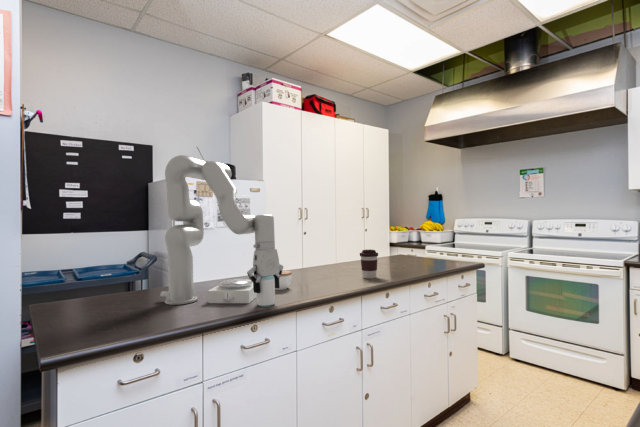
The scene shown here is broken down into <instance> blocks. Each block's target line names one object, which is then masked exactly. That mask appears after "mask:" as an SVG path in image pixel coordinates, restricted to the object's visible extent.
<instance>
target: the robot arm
mask: <svg viewBox="0 0 640 427" xmlns="http://www.w3.org/2000/svg"><path fill="white" fill-rule="evenodd" d="M164 170H165V171H164V178H165V183H166V185H165V186H166V201H167V202H166V204H167V214H168V218H169V219H170V220H172V221H174V222H182V224H176V225H173V226H170V227H169V228H168V229H167V230H166V233H165V236H164V239H165V240H164V242H165V244H166V245H165V246H166V250H167V266H168V267H167V269H168V290H167V291H161V292H160V296H159V297H160V298H164V297H165V300H164V304H165V305H170V306H171V305H172V306H175V305H176V306H177V305H178V306H179V305H187V304H191V303H195V302H196V301H198V296H197V295H195V294H194V290H195V288H194V256H193V253H192V250H191V247H194V246H195V247H196V246H199V244H201V243H202V241H203V239H204V234H205V233H204V212H203V208H202V205H201V204H200V203H199V202H198V201H197V200H194V199H190V192H189V191H190V190H189V188H190V187H189V185H188V183H187V180H186V178H192V179H196V180H202V181H205V182H206V184H207V186H208V187H209V189H210V190H211V192H212V194H214V197H215V198H216V200H217V203H218V204H217V205H218V209H219V214H220V216H221V218H222V220H223V221H224V223H225V224H226V226H227V227H228V229H229V230H230V231H231V232H232V233H234V234H236V235H248V234H250V235H251V234H254V244H253V249H255V250H254V252H253V257H252V258H253V260H252V267H250V269H249V270H248V271H247V272H246V274H247V276H248V278H249V280H251V281H252V283H253V290H254V293H260V282H259V280H260V278H261V277H266V276H270V275H273V276H274V278H275V288H277V289H278V288H279V278H280V275H281V274H282V271H284V265H282V264H280V258H279V254H278V253H279V252H278V250H277V248H276V241H275V240H276V238H275V237H276V236H275V218H274V215H272V214H270V213H269V214H265V213H264V214H256V215H255V214H243V213H242V211H241V210H240V209H239V207H238V205H237V203H236V200H235V197H236V195H237V193H238V189H237V188H236V186H235V184H234V183H233V182H232V181H231V178H232V177H233V176H232V174H233V173H232V169H231V168H230V166H228V165H227V164H225V163H222V162H219V161H214V160H210V161H209V160H205V159H201V158H196V157H193V156H189V155H184V154H182V155H181V154H180V155H176V156H174V157H172V158H171V159H170V160H169V161H168V162H167V165H166V166H165V169H164Z"/></svg>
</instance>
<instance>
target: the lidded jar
mask: <svg viewBox="0 0 640 427" xmlns="http://www.w3.org/2000/svg"><path fill="white" fill-rule="evenodd" d="M292 274H293V272H292V271H291V270H282V274H281V275H280V278H279V288H278V289H277V288H275V291H278V290H280V291H283V290H287V289H288V287H290V284H291V282H292Z"/></svg>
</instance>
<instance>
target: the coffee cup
mask: <svg viewBox="0 0 640 427" xmlns="http://www.w3.org/2000/svg"><path fill="white" fill-rule="evenodd" d="M359 256H360V266H361V273H362V278H364V279H373V280H374V279H376V278H377V270H378V257H379V253H378V252H376V250H375V249H362V251H361V252H359Z"/></svg>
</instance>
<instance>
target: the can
mask: <svg viewBox="0 0 640 427" xmlns="http://www.w3.org/2000/svg"><path fill="white" fill-rule="evenodd" d="M259 282H260V293H257V297H256V305H257V306H259V307H263V308H266V307H272V306H274V305H275V303H276V289H275V278H274V276H273V275H270V276H266V277H261V278H260V280H259Z"/></svg>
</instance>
